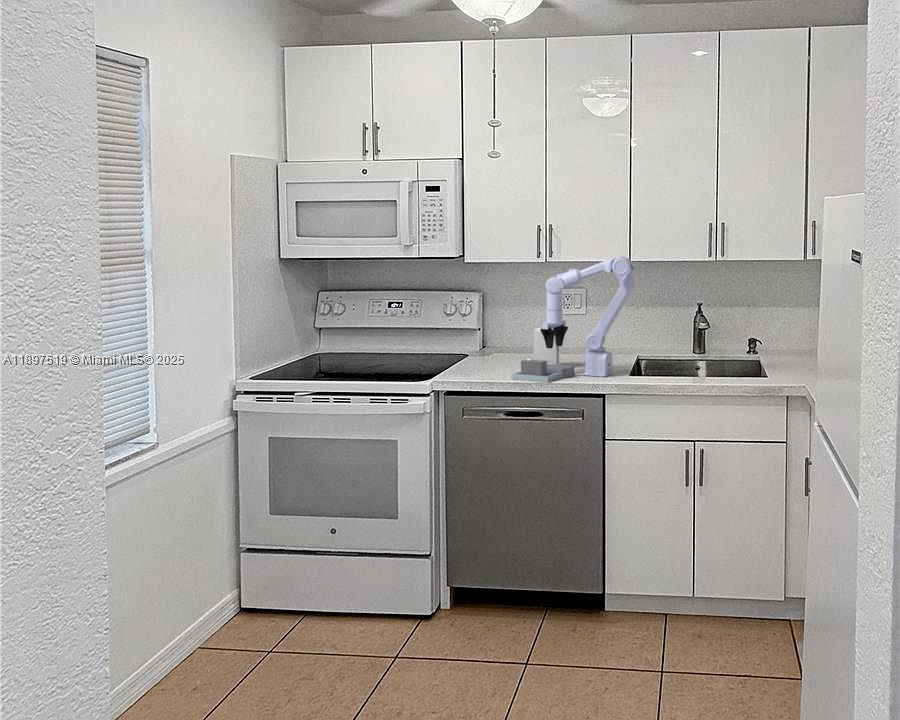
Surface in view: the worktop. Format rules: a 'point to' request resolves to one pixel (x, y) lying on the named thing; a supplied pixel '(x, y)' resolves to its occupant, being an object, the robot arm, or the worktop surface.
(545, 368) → the caddy
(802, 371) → the worktop surface
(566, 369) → the bay
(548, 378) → the tray
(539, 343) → the grey piece
